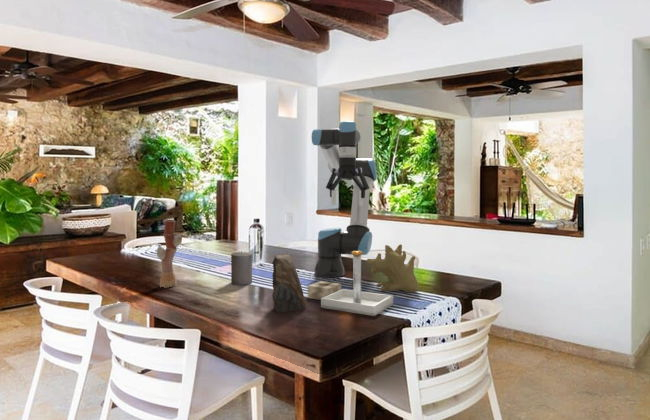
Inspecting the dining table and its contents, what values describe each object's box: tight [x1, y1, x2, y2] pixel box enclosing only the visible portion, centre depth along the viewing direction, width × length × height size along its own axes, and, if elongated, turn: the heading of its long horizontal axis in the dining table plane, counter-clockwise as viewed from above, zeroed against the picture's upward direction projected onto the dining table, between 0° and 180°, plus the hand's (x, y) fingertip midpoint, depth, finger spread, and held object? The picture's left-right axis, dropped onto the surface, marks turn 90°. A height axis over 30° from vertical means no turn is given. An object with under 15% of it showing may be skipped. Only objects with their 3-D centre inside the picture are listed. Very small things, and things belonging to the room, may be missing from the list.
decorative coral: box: [366, 243, 419, 293], centre depth 212 cm, size 26×22×25 cm
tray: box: [320, 288, 394, 317], centre depth 186 cm, size 22×18×4 cm
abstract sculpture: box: [156, 219, 183, 289], centre depth 217 cm, size 10×7×30 cm
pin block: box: [307, 280, 342, 301], centre depth 200 cm, size 10×10×5 cm
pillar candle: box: [230, 250, 253, 286], centre depth 225 cm, size 10×10×15 cm
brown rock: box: [271, 253, 307, 314], centre depth 183 cm, size 13×13×20 cm
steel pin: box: [352, 251, 362, 304], centre depth 185 cm, size 4×4×20 cm
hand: (347, 205), depth 215 cm, fingers open, 13 cm apart
